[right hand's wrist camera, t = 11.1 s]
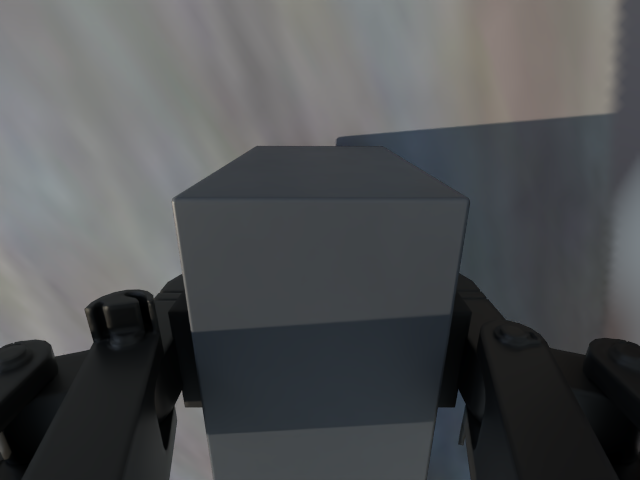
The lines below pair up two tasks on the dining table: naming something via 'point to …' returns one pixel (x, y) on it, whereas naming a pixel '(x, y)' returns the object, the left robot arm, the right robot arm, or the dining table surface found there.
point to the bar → (320, 310)
